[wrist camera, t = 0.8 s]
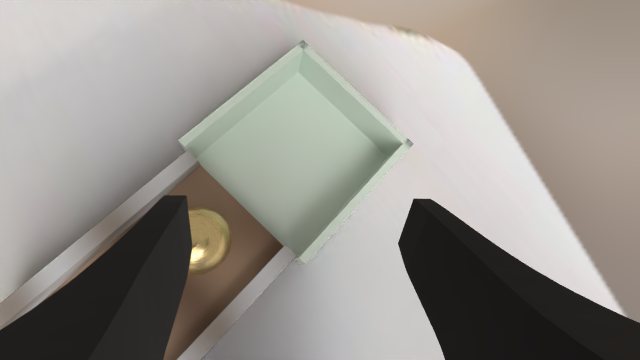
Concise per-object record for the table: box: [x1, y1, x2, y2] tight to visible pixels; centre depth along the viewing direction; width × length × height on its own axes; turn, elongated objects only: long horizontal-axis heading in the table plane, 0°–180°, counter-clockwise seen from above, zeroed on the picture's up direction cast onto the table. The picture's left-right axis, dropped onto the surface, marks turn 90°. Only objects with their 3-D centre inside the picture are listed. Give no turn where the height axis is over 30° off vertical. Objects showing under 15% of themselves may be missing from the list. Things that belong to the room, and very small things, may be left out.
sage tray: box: [178, 41, 413, 265], centre depth 25 cm, size 12×12×4 cm
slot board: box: [0, 150, 296, 360], centre depth 21 cm, size 14×10×3 cm
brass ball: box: [188, 207, 232, 276], centre depth 20 cm, size 4×4×4 cm
